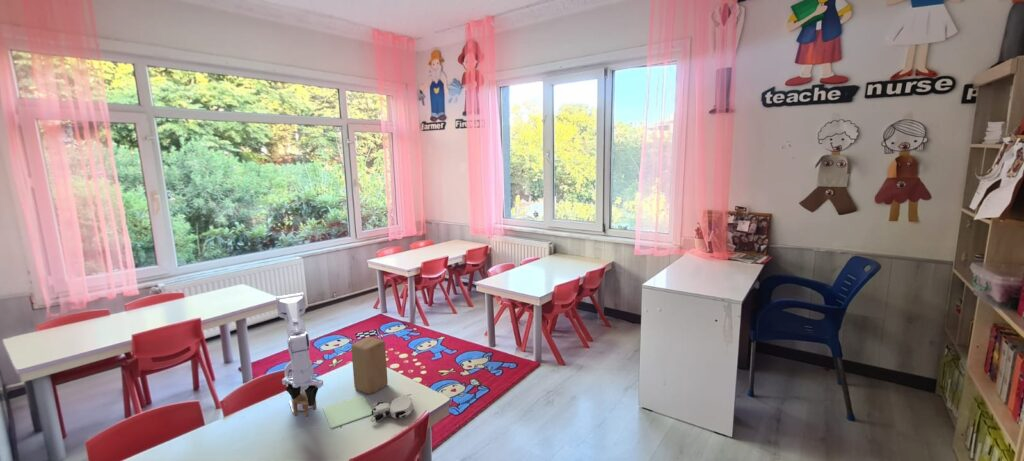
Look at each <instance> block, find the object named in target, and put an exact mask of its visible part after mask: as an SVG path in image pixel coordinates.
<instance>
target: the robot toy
mask: <svg viewBox="0 0 1024 461" xmlns="http://www.w3.org/2000/svg"><path fill="white" fill-rule="evenodd" d="M410 396H412V393H409V394H407V395H403V396H398V397H395V398H394V399H393V400H392V401H391V402H390V403H389V402H383V401H378V402H375V403H373V409H371V410H372V414H373V417H371V418H370V422H372V423H373V422H375V421H376V422H378V421H380V420H382V419H384V418H386V417H389V416H390V417H392V418H394V419H403V418H405V417H408V416H409V415H410V414H411V413H412V411H413V408H414V404H413V399H412V398H411V397H410Z"/></svg>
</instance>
